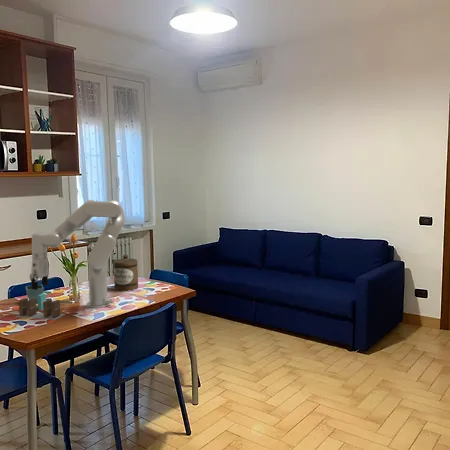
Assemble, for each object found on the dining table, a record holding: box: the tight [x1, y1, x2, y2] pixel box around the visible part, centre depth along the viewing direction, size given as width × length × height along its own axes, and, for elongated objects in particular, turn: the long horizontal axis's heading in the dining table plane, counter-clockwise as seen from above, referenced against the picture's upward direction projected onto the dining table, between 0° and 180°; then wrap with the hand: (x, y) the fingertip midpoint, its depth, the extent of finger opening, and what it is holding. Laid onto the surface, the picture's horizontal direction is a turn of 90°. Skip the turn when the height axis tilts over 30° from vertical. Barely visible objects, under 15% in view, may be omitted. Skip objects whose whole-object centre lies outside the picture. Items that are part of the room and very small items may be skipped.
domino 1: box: [18, 297, 29, 316], centre depth 241 cm, size 2×5×8 cm, turn 170°
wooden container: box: [113, 254, 139, 292], centre depth 297 cm, size 15×15×22 cm
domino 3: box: [42, 299, 53, 318], centre depth 239 cm, size 2×5×8 cm, turn 170°
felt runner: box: [15, 312, 66, 320], centre depth 240 cm, size 23×9×1 cm, turn 80°
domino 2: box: [27, 299, 38, 317], centre depth 240 cm, size 2×5×8 cm, turn 170°
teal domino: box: [37, 292, 47, 311], centre depth 252 cm, size 2×5×8 cm, turn 170°
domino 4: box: [51, 299, 61, 318], centre depth 238 cm, size 2×5×8 cm, turn 170°
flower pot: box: [25, 284, 44, 304], centre depth 265 cm, size 9×9×9 cm
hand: (39, 287), depth 251 cm, fingers open, 9 cm apart
